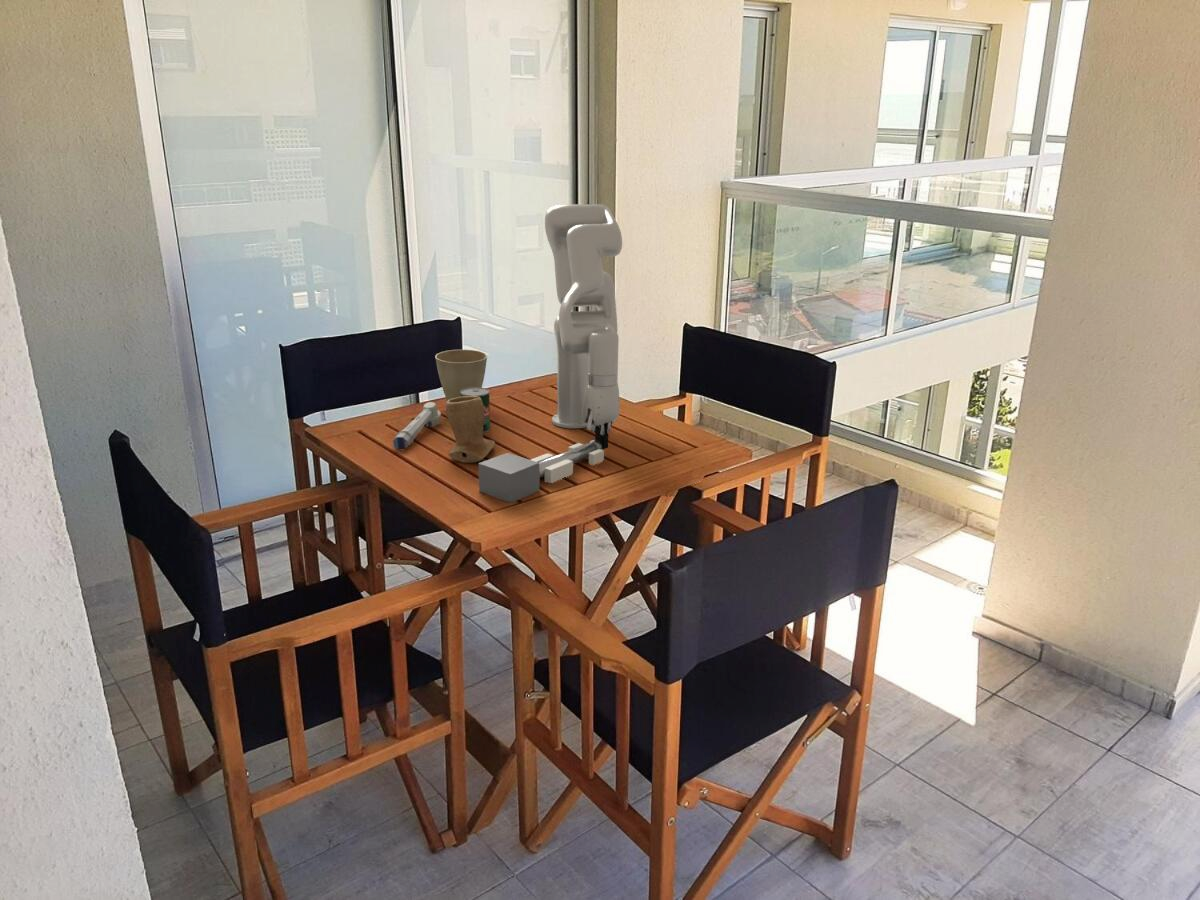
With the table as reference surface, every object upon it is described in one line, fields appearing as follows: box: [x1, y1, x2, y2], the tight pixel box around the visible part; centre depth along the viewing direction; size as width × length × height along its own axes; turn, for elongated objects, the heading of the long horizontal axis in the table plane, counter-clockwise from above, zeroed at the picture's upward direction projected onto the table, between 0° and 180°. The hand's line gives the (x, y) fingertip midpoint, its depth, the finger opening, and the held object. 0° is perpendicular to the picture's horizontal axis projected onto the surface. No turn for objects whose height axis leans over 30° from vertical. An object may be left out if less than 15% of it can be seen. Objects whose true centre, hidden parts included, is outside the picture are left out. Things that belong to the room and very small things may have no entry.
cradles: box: [530, 442, 605, 484], centre depth 232 cm, size 20×8×4 cm, turn 141°
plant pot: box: [434, 349, 488, 402], centre depth 275 cm, size 15×15×16 cm
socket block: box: [478, 452, 540, 504], centre depth 217 cm, size 10×10×7 cm
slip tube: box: [539, 439, 603, 479], centre depth 232 cm, size 24×4×4 cm, turn 141°
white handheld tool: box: [392, 401, 442, 450], centre depth 254 cm, size 5×7×25 cm
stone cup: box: [445, 396, 496, 464], centre depth 238 cm, size 15×12×15 cm
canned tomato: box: [460, 387, 491, 434], centre depth 257 cm, size 8×8×11 cm
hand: (601, 447), depth 242 cm, fingers closed
